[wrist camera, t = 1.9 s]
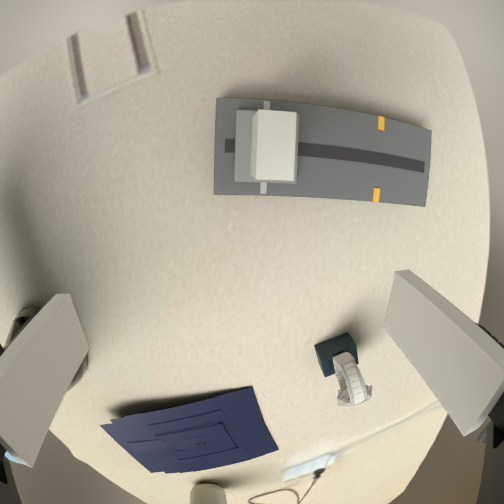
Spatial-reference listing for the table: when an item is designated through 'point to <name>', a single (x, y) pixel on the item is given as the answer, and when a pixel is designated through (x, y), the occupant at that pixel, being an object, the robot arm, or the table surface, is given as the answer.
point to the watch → (344, 370)
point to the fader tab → (266, 146)
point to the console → (333, 155)
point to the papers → (195, 434)
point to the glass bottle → (207, 494)
